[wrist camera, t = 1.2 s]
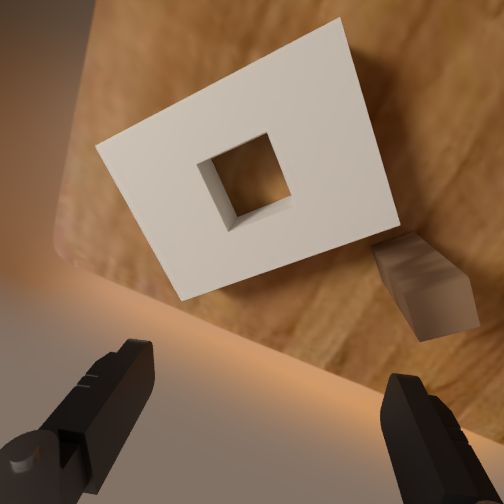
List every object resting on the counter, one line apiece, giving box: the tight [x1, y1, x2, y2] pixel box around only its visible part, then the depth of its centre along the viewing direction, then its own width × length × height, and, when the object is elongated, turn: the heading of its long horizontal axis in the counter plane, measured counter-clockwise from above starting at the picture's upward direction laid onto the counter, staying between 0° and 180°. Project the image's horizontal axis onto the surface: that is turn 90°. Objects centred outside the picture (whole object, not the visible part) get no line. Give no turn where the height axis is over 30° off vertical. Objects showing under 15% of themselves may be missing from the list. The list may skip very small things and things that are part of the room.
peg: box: [371, 231, 481, 342], centre depth 26 cm, size 4×4×10 cm
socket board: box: [95, 17, 400, 301], centre depth 27 cm, size 20×15×5 cm
